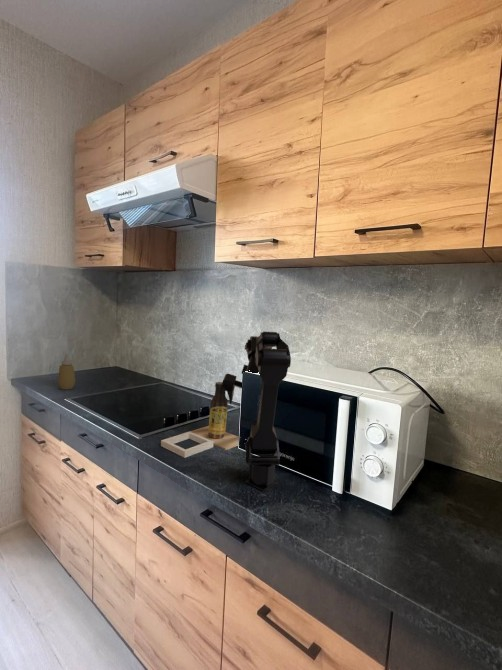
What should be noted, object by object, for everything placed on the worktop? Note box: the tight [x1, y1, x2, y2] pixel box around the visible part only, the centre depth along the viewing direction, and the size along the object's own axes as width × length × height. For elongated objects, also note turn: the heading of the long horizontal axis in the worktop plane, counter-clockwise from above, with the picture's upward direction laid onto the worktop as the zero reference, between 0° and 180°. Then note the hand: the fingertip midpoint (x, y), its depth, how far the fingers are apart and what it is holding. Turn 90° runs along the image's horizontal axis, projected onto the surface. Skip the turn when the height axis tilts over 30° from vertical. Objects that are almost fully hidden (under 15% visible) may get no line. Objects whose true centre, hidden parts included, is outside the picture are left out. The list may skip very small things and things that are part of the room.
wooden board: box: [189, 425, 240, 451], centre depth 131 cm, size 20×11×1 cm, turn 50°
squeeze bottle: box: [57, 353, 76, 390], centre depth 185 cm, size 8×8×18 cm
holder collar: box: [160, 431, 214, 459], centre depth 121 cm, size 12×12×2 cm
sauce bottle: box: [208, 381, 229, 439], centre depth 129 cm, size 6×6×20 cm
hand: (243, 407), depth 126 cm, fingers open, 9 cm apart
